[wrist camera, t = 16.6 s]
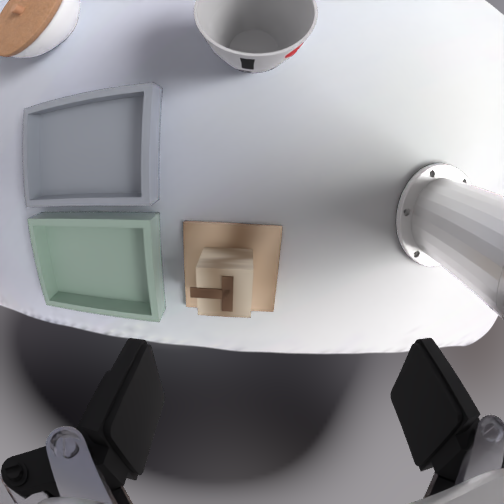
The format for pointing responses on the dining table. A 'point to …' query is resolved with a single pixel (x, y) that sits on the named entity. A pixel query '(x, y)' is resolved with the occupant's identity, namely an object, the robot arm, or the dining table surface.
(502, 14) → the dining table surface
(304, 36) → the cup
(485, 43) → the dining table surface
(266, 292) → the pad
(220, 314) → the letter cube
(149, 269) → the green tray
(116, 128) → the slate tray
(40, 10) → the lidded jar
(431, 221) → the robot arm
